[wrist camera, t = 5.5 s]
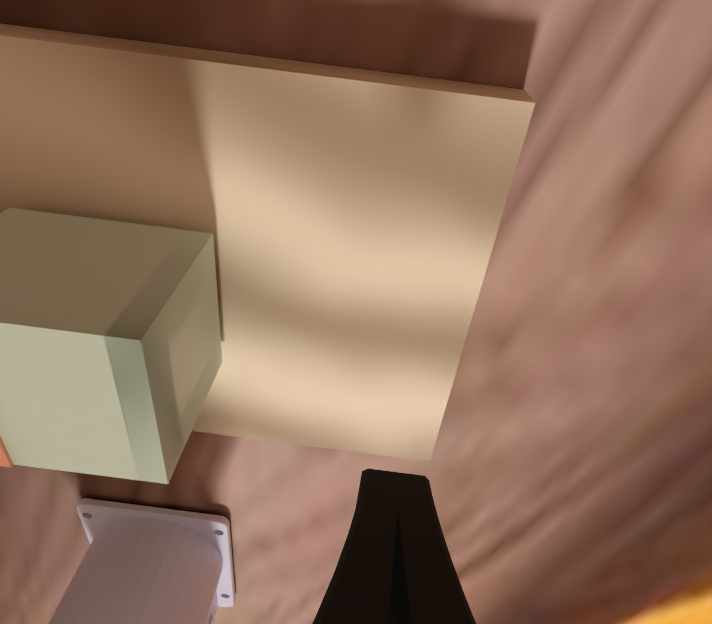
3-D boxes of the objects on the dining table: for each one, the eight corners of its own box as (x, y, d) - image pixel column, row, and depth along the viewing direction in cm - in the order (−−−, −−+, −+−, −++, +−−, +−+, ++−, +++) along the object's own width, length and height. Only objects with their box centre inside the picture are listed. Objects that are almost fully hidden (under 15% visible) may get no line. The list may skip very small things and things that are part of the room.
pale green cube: (222, 361, 18) (166, 487, 14) (52, 340, 18) (-56, 458, 14) (212, 233, 15) (139, 343, 11) (9, 207, 15) (-145, 307, 11)
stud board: (428, 433, 22) (436, 586, 17) (-75, 368, 22) (-227, 500, 17) (523, 89, 14) (599, 175, 8) (-279, -12, 14) (-702, 10, 8)
